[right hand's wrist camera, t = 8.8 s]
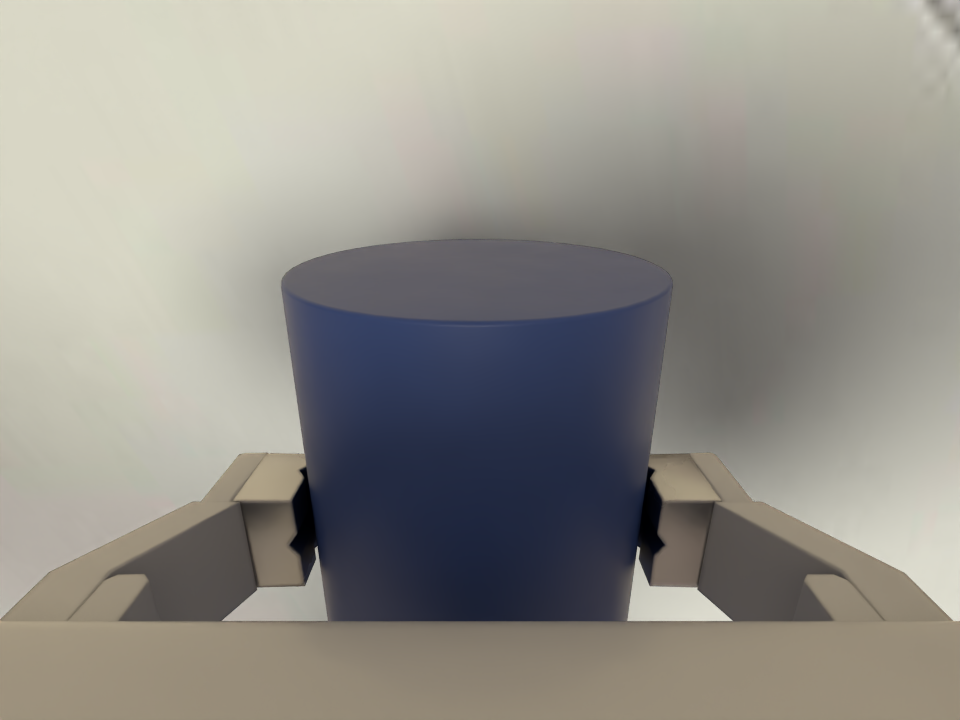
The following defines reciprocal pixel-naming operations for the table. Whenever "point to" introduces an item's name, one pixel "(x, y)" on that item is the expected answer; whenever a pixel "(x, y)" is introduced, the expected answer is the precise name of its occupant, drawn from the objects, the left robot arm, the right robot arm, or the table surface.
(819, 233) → the table surface
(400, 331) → the cylinder
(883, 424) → the table surface
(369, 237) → the table surface
